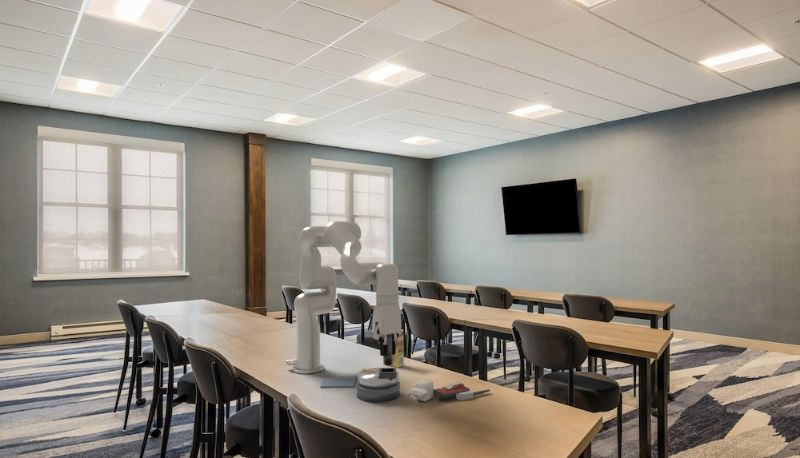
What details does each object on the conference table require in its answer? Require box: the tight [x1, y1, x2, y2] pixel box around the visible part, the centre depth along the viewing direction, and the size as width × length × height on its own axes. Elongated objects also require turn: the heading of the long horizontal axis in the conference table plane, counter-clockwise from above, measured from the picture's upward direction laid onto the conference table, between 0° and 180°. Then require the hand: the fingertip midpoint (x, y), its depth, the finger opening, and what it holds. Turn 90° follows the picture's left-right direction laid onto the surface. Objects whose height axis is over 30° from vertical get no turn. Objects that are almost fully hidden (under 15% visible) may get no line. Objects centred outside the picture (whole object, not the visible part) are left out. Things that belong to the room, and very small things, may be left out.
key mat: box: [320, 376, 356, 389], centre depth 174 cm, size 12×10×1 cm
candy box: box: [382, 328, 405, 368], centre depth 199 cm, size 9×4×15 cm, turn 49°
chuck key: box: [383, 334, 393, 366], centre depth 158 cm, size 3×3×10 cm
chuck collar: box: [357, 367, 400, 389], centre depth 161 cm, size 14×14×5 cm
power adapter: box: [406, 379, 435, 402], centre depth 154 cm, size 11×5×6 cm, turn 145°
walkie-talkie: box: [433, 381, 491, 403], centre depth 160 cm, size 9×4×20 cm
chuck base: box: [356, 381, 401, 404], centre depth 161 cm, size 15×15×4 cm
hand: (387, 354), depth 158 cm, fingers closed on chuck key, 3 cm apart
